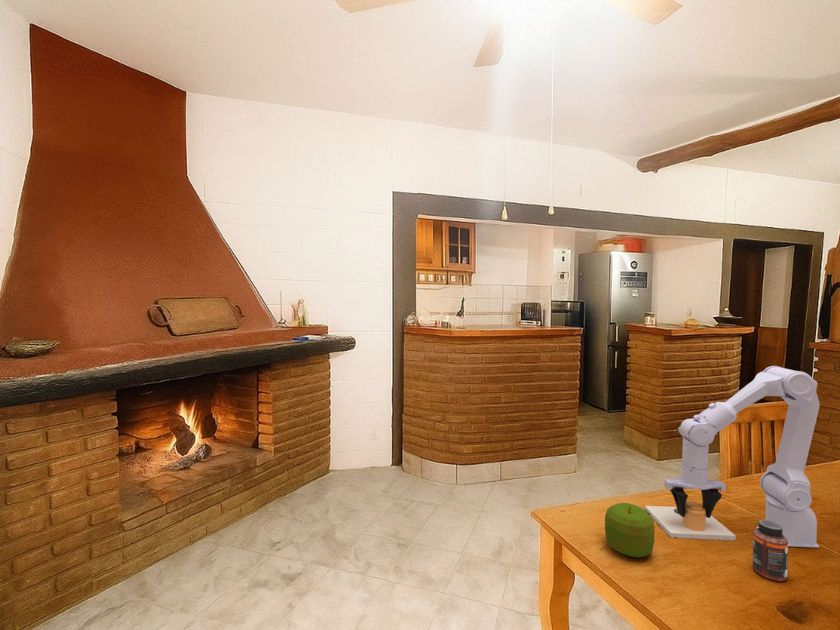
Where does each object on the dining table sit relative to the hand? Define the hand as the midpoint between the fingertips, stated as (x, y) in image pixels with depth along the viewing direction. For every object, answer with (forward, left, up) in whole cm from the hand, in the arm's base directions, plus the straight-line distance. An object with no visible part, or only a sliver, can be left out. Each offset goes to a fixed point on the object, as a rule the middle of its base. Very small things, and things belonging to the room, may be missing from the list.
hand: (693, 515), depth 108 cm
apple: (+21, +10, -4) cm, 24 cm away
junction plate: (0, -3, -4) cm, 5 cm away
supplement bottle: (-7, +17, -4) cm, 19 cm away
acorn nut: (0, 0, -3) cm, 3 cm away
